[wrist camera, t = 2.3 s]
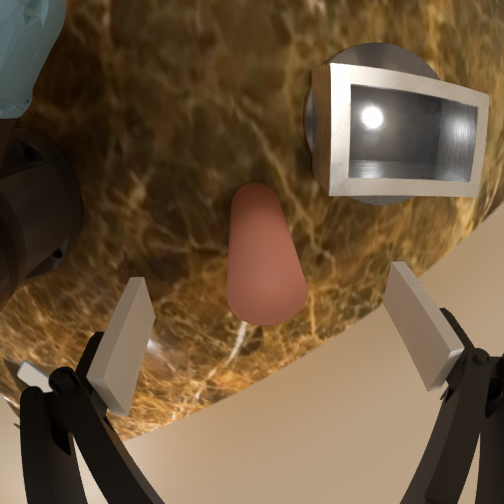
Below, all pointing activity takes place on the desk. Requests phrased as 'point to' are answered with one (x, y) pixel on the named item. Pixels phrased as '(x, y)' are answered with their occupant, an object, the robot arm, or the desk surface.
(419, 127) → the rosette bracket
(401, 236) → the desk surface
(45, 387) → the smartphone
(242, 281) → the pin
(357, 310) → the desk surface
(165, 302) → the desk surface
